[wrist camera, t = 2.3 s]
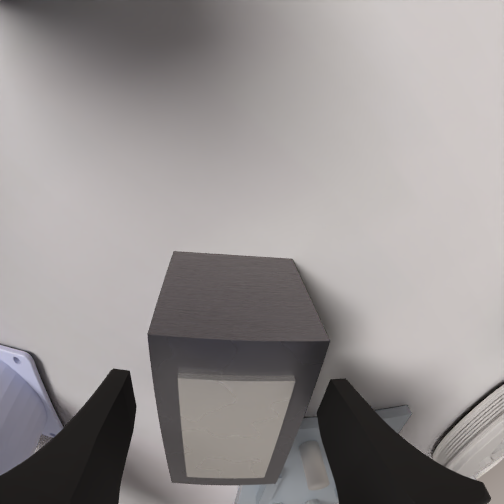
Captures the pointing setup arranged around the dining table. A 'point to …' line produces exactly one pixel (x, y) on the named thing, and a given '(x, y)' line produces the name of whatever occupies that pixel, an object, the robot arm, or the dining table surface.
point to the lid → (475, 438)
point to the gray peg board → (309, 467)
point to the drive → (233, 365)
